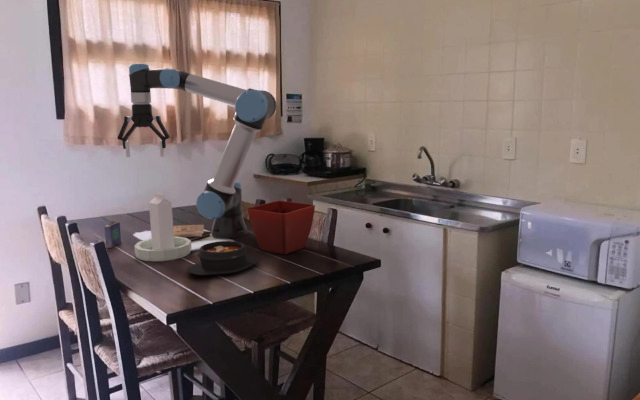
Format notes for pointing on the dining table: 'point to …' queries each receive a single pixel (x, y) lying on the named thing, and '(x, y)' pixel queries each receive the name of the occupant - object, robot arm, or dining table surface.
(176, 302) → the dining table surface
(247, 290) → the dining table surface
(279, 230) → the plant pot
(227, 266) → the casserole
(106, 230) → the flask
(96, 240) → the dining table surface
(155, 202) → the milk
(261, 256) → the dining table surface
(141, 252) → the bowl
